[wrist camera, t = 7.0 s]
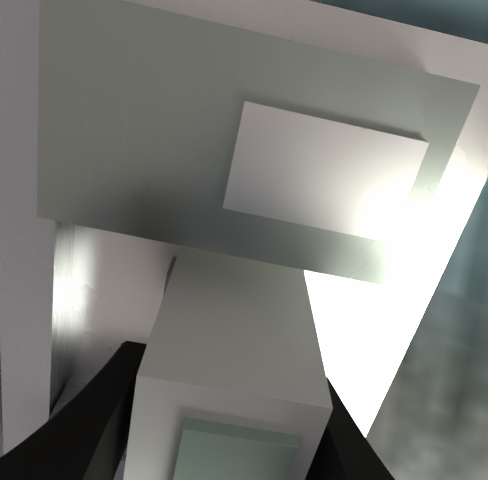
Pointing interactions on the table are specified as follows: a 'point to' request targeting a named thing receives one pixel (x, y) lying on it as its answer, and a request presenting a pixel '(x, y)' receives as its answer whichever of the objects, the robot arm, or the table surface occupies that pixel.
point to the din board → (224, 176)
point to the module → (229, 375)
